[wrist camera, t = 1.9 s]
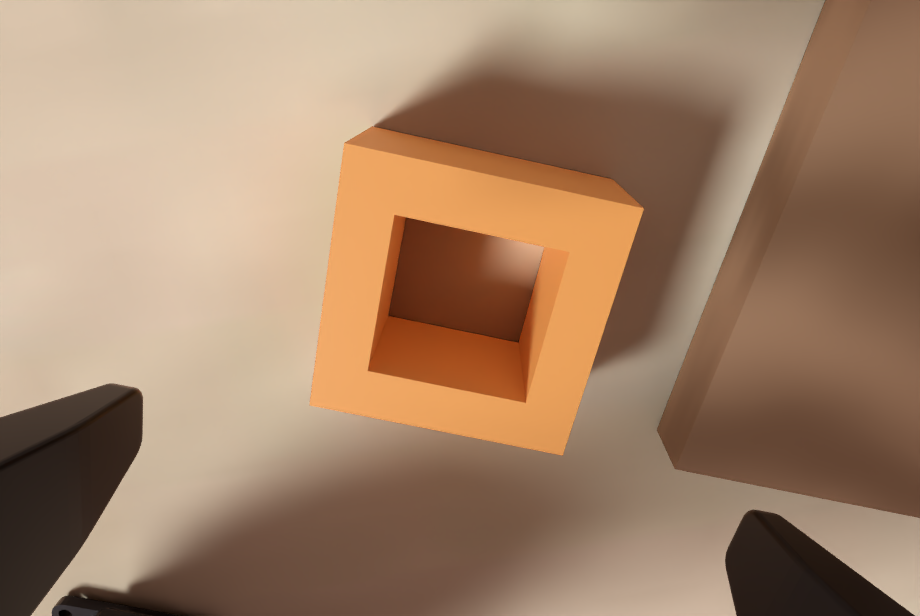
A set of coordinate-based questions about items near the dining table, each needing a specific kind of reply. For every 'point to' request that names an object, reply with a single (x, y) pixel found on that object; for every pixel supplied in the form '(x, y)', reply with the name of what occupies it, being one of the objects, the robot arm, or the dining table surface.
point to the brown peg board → (821, 285)
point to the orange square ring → (453, 351)
